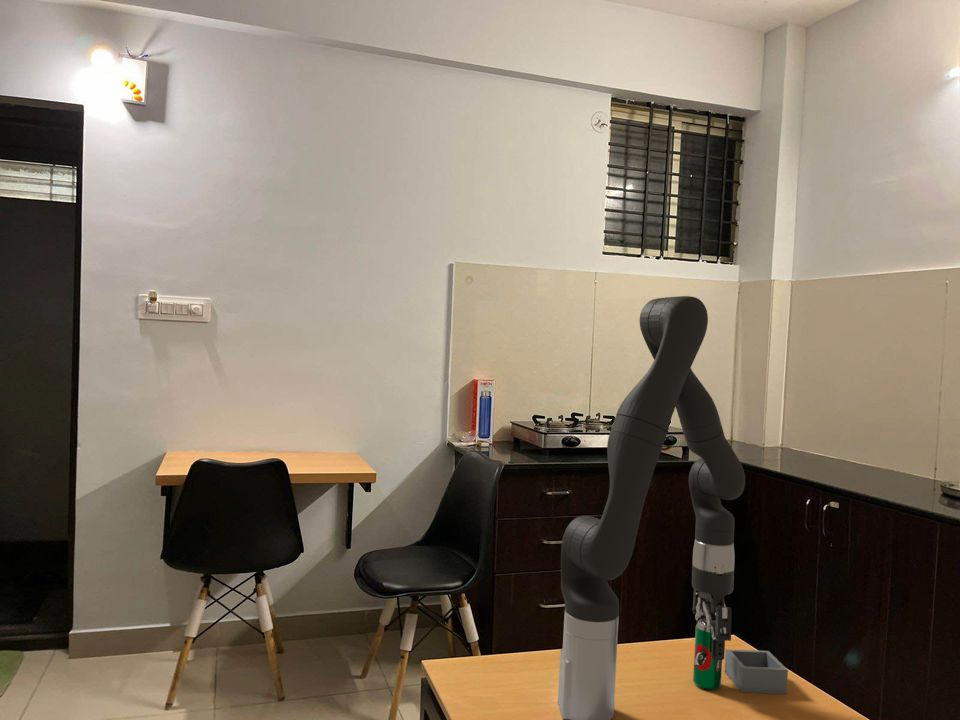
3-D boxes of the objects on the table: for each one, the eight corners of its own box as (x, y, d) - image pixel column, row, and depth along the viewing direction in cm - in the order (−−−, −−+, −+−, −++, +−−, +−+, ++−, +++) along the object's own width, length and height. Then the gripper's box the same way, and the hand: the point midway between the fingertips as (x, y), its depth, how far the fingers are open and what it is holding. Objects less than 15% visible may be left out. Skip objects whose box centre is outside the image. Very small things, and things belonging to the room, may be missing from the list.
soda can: (722, 693, 135) (725, 629, 134) (694, 689, 136) (697, 625, 135) (718, 681, 139) (722, 619, 139) (691, 677, 140) (694, 616, 140)
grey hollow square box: (741, 692, 135) (742, 668, 135) (724, 671, 144) (725, 649, 144) (786, 693, 136) (787, 670, 136) (767, 673, 144) (768, 650, 144)
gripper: (682, 553, 144) (678, 634, 145) (706, 576, 130) (702, 665, 130) (719, 554, 145) (716, 635, 145) (747, 577, 130) (743, 666, 131)
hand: (709, 649), depth 138 cm, fingers open, 8 cm apart
